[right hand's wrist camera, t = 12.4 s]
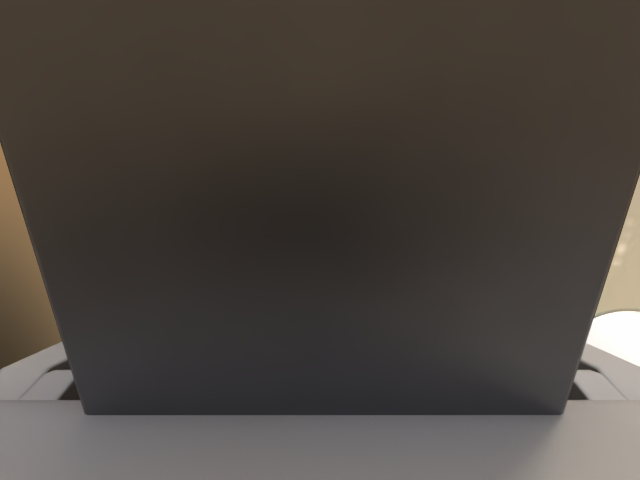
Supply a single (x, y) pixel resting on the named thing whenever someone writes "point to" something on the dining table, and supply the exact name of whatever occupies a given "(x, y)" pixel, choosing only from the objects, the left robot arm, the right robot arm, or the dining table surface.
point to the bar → (322, 197)
